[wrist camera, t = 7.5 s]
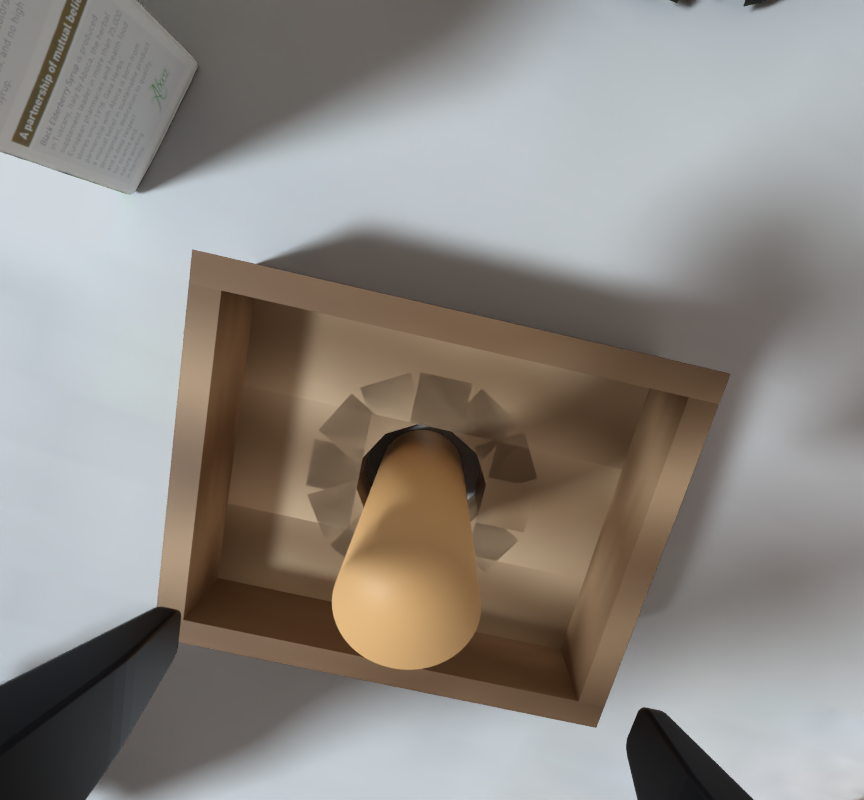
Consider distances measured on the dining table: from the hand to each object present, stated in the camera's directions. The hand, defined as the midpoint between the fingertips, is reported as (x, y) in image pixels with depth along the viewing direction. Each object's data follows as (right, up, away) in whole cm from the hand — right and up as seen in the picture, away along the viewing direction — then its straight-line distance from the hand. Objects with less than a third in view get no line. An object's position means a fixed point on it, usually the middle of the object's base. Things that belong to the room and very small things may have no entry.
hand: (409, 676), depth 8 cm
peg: (0, +2, +11) cm, 11 cm away
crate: (0, +2, +11) cm, 11 cm away
